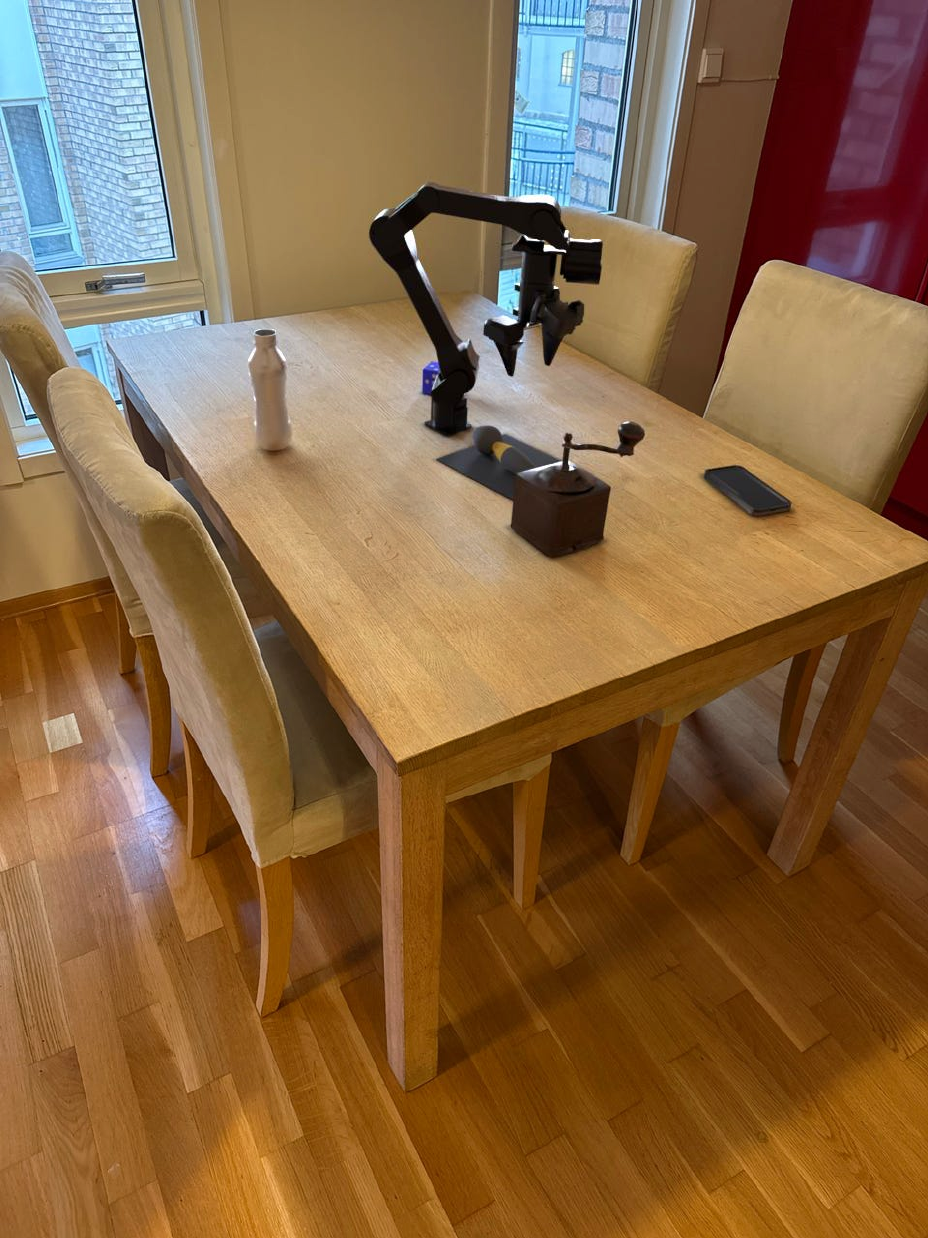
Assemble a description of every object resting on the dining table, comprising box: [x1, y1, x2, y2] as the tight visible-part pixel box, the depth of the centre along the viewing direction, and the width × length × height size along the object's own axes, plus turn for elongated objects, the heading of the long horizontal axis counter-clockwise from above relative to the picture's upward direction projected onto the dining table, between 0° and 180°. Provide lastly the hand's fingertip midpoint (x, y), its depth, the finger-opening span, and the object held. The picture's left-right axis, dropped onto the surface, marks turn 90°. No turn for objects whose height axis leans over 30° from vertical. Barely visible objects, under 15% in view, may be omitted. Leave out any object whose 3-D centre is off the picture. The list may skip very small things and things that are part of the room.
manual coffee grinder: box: [510, 420, 646, 559], centre depth 132 cm, size 16×11×18 cm
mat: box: [435, 433, 562, 502], centre depth 154 cm, size 20×17×1 cm
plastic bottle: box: [247, 328, 293, 451], centre depth 150 cm, size 6×7×20 cm
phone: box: [703, 464, 793, 517], centre depth 150 cm, size 8×1×15 cm
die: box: [421, 361, 440, 396], centre depth 179 cm, size 5×5×5 cm
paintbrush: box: [472, 424, 537, 475], centre depth 153 cm, size 20×5×5 cm, turn 40°
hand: (529, 370), depth 159 cm, fingers open, 9 cm apart
